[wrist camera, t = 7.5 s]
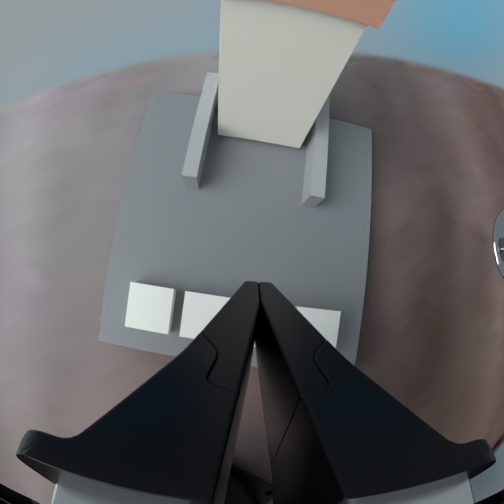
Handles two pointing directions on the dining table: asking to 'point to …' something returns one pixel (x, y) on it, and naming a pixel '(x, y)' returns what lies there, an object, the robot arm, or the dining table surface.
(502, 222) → the wine glass
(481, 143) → the dining table surface
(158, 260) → the keyboard deck
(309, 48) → the key
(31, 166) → the dining table surface
